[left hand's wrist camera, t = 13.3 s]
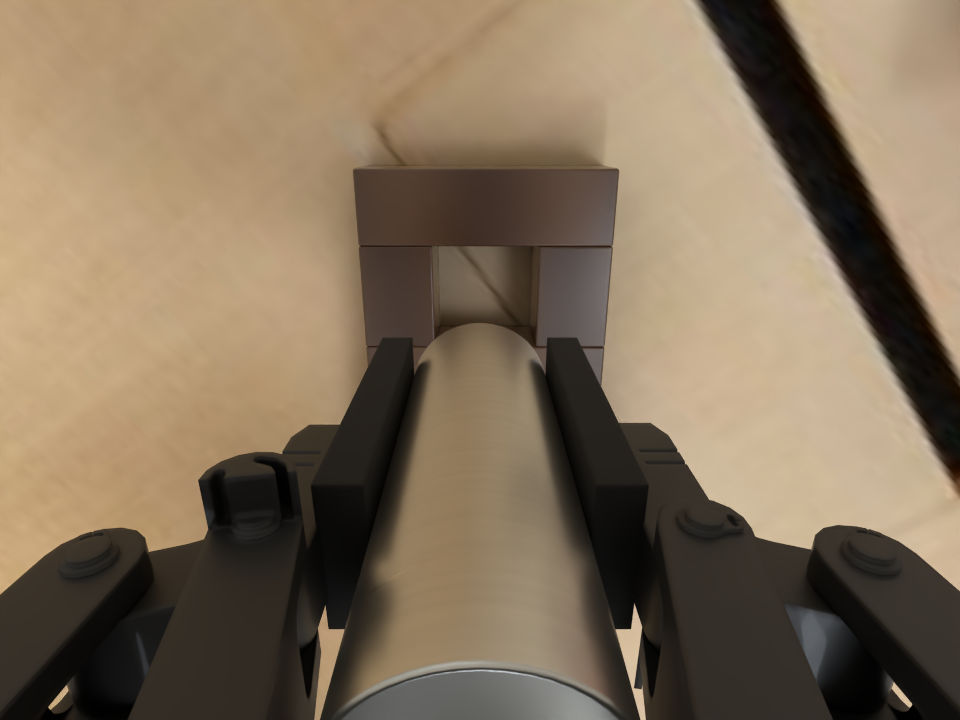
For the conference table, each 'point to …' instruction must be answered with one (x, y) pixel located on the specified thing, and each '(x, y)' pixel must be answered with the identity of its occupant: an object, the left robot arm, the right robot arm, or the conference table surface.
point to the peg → (480, 558)
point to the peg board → (487, 222)
